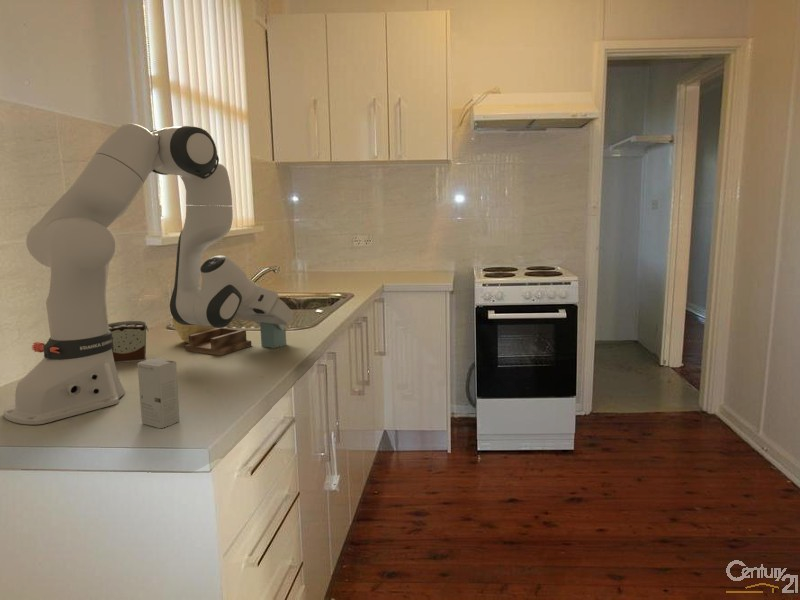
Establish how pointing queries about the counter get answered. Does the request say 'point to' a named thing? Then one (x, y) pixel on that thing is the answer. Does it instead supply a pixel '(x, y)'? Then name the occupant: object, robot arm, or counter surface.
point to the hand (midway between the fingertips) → (274, 326)
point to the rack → (218, 341)
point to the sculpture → (188, 330)
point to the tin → (272, 335)
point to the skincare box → (158, 392)
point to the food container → (129, 340)
